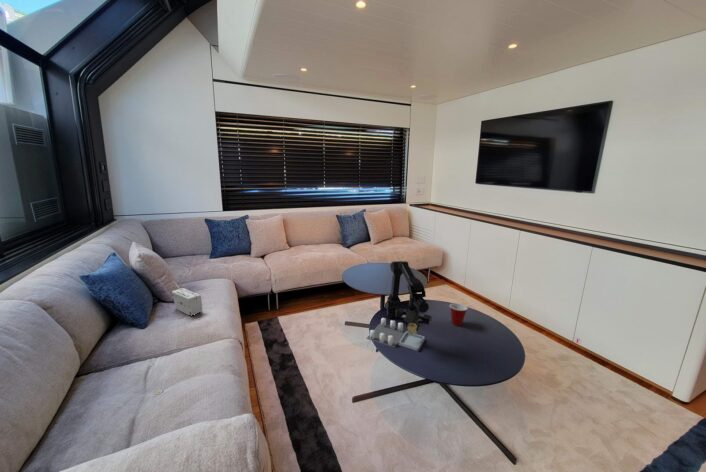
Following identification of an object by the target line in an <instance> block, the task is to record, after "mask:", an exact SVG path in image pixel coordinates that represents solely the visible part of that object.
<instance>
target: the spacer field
mask: <svg viewBox="0 0 706 472" xmlns="http://www.w3.org/2000/svg"><path fill="white" fill-rule="evenodd" d="M406 331H407V329H404V323H403V322H398V323H397V327H396V320H394V319H390V324H389V325H388V324H387V317H382V318H381V319H380V323H379V324H377V326H376V327H375V328H374V329H371V330H369V335H368V336H367V337H366V338H365V339H366V340H368V341H372V342H376V343H379V344H382V345H385V346H389V347H391V348H395V347H396V346H397V345H398V343H399V341H400V339H401V338H402V336H403V335H404V334H405V332H406ZM371 337H372V338H371ZM372 339H373V340H372Z"/></svg>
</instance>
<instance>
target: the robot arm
mask: <svg viewBox="0 0 706 472" xmlns="http://www.w3.org/2000/svg"><path fill="white" fill-rule="evenodd" d="M389 265H390V271H391V272H392V280H391V289H390V294H389V295H388V297H387V298H386V302H385V303H384V308H385V309H386V311H387V312H386V315H385V317H384V318H386V319H387V318H388V319H389V320H396V318H401V319H402V320H403V321H404V324H405V326H406V328H407V327H408V324H409V323H415V322H417V324H416V325H417V332H419V329H420V327H421V325H427V326H428V325H430V323H431V322H432V318H433V317H432V315H430V314H429V315H428V314H425V313H426V312H428V311H429V309H430V307H429V304H428V302H427V301H426V299H425V298H426V297H427V295H426V294H427V293H426V289H425V287H424V284H423V282H422V281H421V280H420V279H419V278H417V277H416V276H415V274H414V273H413V270H412V269H411V267H410V266H409V262H408V261H406V260H405V261H403V260H400V261H399V260H397V261H391V262H390V264H389ZM402 275H403V277H404V278H405V280H406V282H407V285H406V286H407V289H408V294H409V300H408V301H409V302H408V307H407V310H406V309H405V308H401V304H402V300H401V299H400V297H399V291H400V284H401V277H402ZM420 313H421V314H424V315H420Z"/></svg>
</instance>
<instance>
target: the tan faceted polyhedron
mask: <svg viewBox="0 0 706 472" xmlns="http://www.w3.org/2000/svg"><path fill="white" fill-rule="evenodd" d="M417 325H418V324H416V323H415V322H414V323H411V322H409V324H408V327H406V331H407V332H409V333H410V334H417V333H418V331H417Z"/></svg>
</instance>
